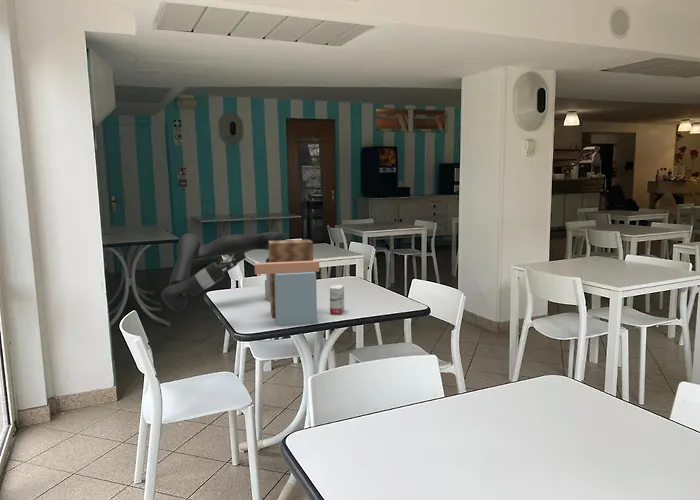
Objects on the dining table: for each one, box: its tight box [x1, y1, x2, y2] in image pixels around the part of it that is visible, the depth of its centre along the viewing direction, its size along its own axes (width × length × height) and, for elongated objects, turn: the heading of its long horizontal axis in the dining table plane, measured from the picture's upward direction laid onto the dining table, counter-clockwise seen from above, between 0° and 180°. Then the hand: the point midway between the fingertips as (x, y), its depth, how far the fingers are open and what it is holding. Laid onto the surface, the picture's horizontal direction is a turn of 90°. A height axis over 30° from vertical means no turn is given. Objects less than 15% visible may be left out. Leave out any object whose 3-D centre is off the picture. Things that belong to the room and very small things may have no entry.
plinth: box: [268, 239, 314, 319], centre depth 239 cm, size 18×10×32 cm, turn 103°
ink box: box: [329, 284, 345, 316], centre depth 242 cm, size 9×5×12 cm, turn 168°
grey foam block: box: [274, 272, 318, 327], centre depth 227 cm, size 16×10×21 cm, turn 103°
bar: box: [254, 260, 320, 275], centre depth 225 cm, size 26×4×4 cm, turn 103°
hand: (244, 253), depth 222 cm, fingers open, 8 cm apart
